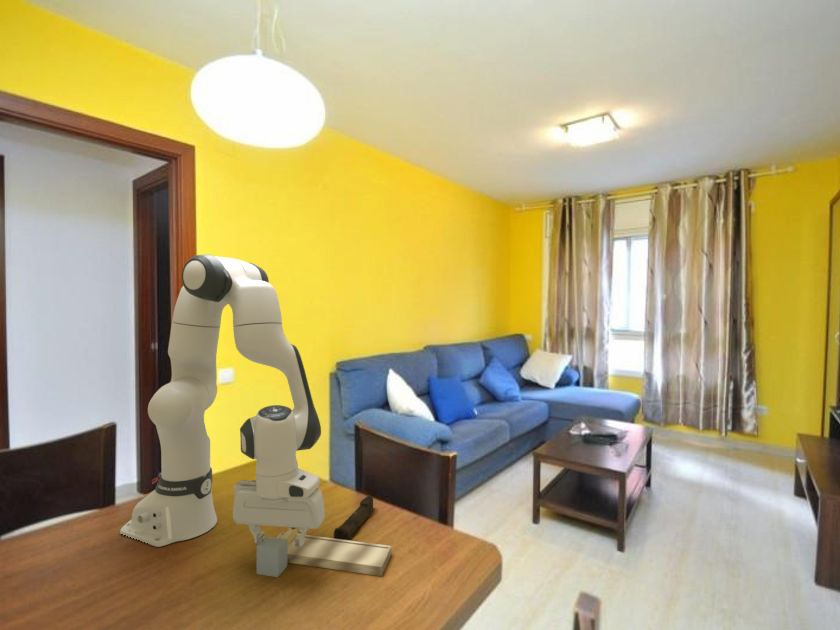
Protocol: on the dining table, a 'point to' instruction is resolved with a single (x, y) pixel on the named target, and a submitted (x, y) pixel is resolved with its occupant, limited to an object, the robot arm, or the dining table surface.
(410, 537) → the dining table surface
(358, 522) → the rusty railroad spike
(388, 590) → the dining table surface
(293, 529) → the grey mallet
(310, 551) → the board
